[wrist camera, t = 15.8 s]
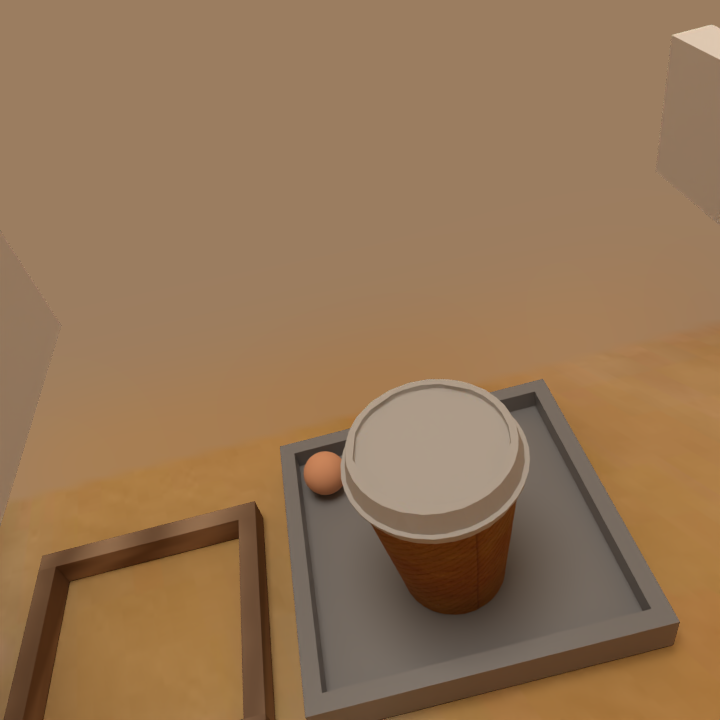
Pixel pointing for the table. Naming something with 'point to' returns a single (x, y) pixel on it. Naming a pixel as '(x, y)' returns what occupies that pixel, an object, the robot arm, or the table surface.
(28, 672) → the frame
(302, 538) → the tray
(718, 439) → the table surface
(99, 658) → the table surface
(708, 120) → the robot arm
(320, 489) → the ball
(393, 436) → the disposable coffee cup
